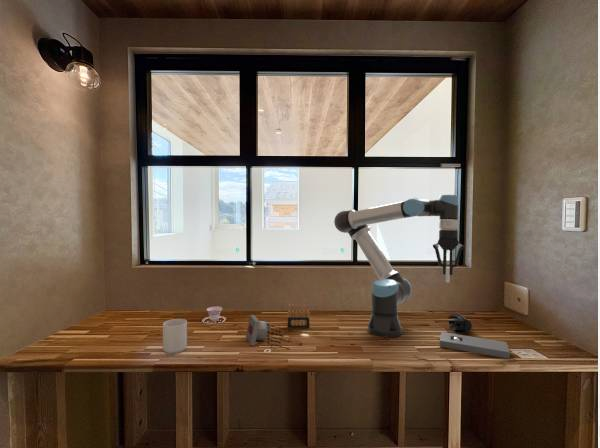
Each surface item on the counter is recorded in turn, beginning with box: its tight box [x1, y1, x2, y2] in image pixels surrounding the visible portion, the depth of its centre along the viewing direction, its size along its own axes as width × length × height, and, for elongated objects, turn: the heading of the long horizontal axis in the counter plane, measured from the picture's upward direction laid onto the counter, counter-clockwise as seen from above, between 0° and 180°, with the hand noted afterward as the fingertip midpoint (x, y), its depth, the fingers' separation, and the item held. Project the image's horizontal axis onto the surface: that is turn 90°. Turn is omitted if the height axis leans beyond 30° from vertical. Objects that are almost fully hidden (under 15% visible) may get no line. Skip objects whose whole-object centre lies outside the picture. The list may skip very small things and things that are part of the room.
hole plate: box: [439, 331, 511, 360], centre depth 127 cm, size 24×11×2 cm, turn 62°
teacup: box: [201, 305, 227, 325], centre depth 160 cm, size 12×12×6 cm
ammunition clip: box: [286, 302, 311, 329], centre depth 150 cm, size 11×2×12 cm, turn 89°
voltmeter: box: [245, 314, 294, 351], centre depth 129 cm, size 27×11×10 cm, turn 57°
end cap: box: [448, 312, 473, 335], centre depth 147 cm, size 10×7×7 cm
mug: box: [162, 318, 188, 355], centre depth 125 cm, size 12×9×11 cm
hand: (447, 281), depth 139 cm, fingers closed
